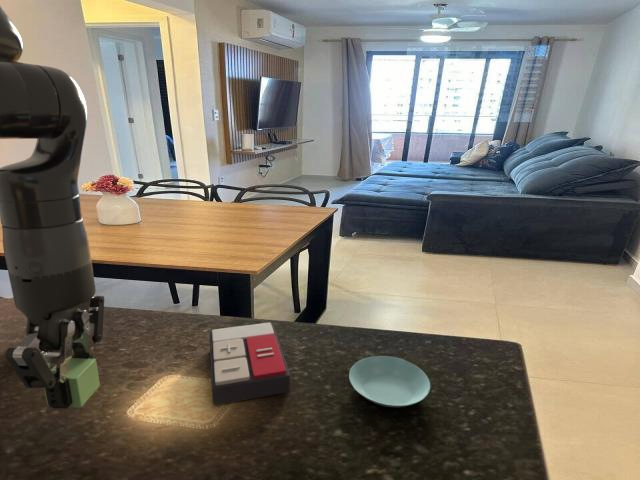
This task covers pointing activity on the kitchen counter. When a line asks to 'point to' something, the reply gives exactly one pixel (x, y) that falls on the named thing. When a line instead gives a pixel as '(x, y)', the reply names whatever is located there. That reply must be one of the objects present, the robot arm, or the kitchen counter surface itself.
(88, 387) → the cube
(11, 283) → the robot arm
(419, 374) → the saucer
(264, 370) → the calculator
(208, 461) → the kitchen counter surface
